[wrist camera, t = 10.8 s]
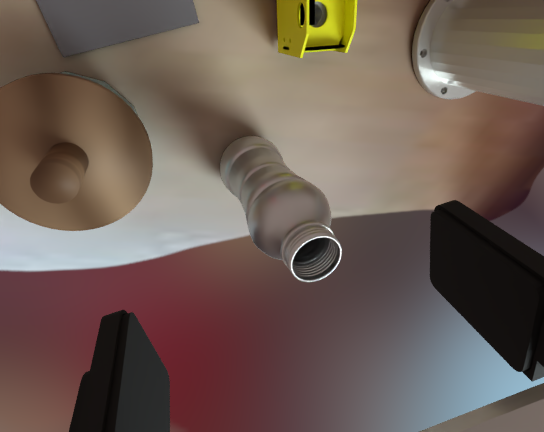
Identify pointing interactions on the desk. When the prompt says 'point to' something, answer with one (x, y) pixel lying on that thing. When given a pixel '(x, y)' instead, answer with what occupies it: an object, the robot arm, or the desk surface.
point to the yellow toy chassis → (315, 25)
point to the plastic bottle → (281, 208)
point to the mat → (111, 21)
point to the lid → (70, 152)
